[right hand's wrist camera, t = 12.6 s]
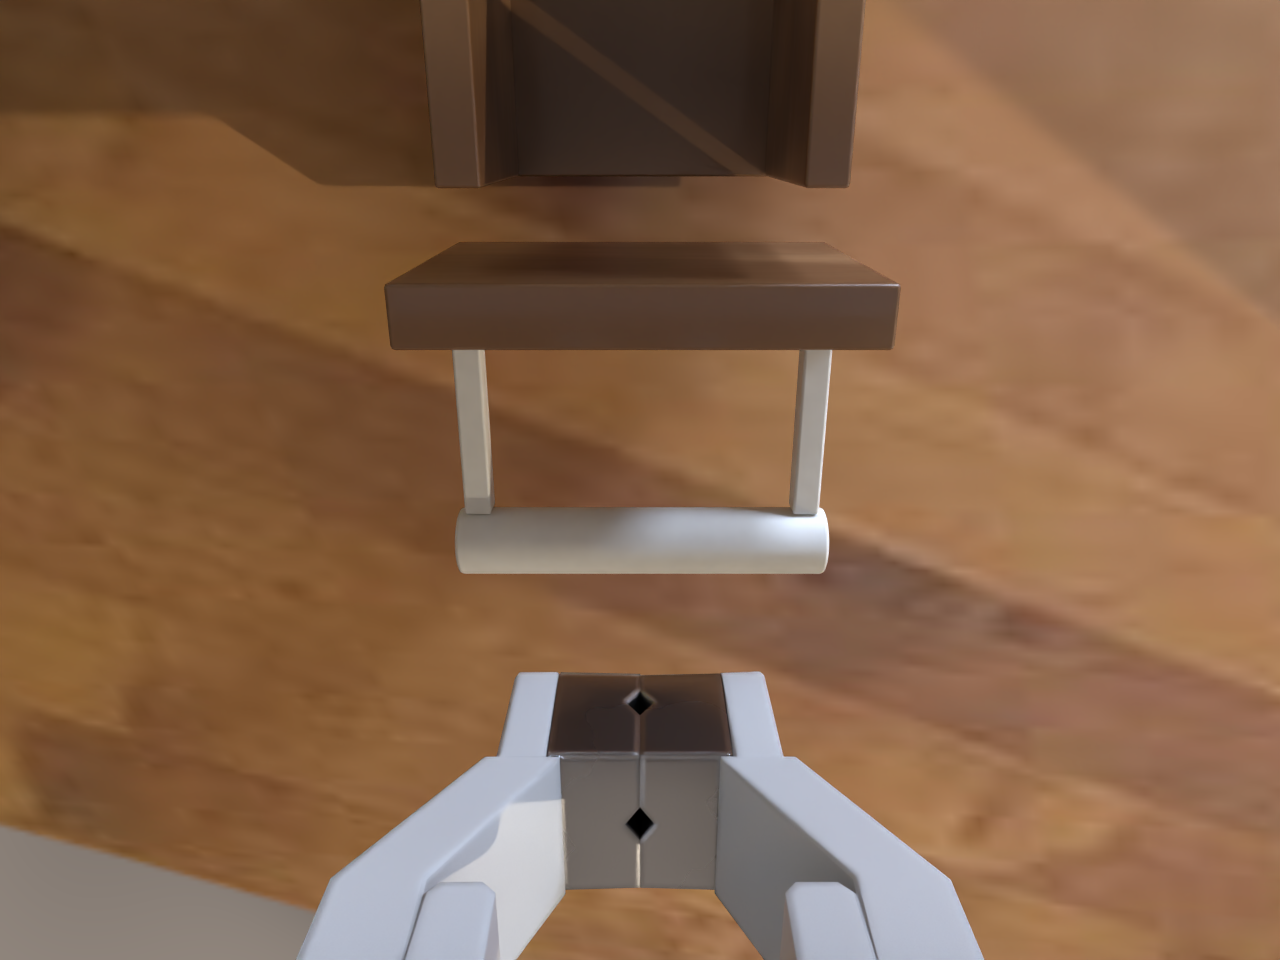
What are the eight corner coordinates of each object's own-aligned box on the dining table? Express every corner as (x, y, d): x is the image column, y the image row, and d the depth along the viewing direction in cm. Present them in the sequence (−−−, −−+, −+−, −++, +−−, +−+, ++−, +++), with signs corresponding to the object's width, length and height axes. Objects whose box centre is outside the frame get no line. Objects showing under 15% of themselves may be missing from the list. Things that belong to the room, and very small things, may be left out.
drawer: (806, 503, 24) (864, 631, 18) (476, 504, 24) (419, 631, 18) (899, -707, 15) (1076, -1281, 9) (385, -707, 15) (212, -1280, 9)
